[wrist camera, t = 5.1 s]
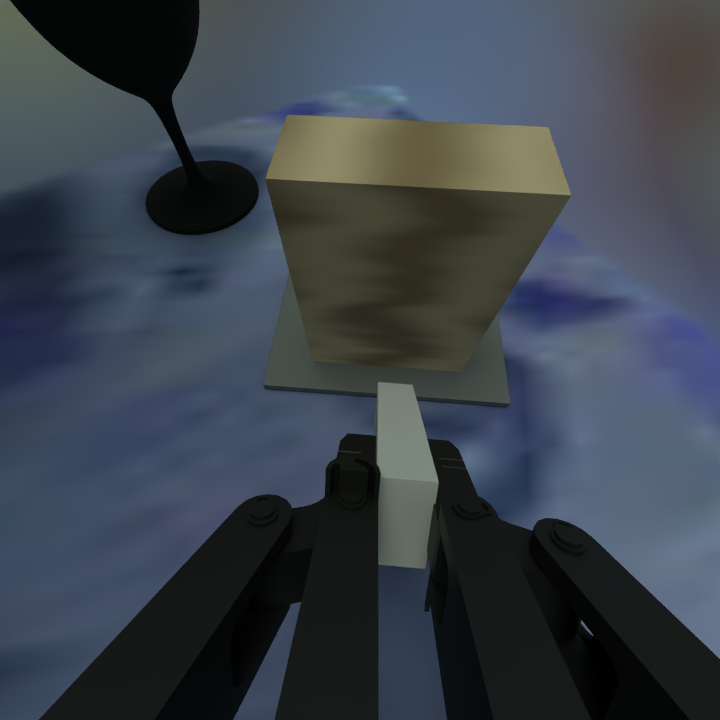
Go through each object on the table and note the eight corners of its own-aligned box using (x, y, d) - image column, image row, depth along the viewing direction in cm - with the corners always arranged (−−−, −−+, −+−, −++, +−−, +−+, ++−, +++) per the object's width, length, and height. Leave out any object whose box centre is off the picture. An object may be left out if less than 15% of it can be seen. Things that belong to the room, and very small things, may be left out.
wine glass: (250, 235, 29) (82, -231, 11) (131, 235, 29) (-221, -234, 11) (266, 164, 34) (166, -240, 16) (164, 163, 34) (-46, -242, 16)
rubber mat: (265, 388, 22) (262, 384, 22) (310, 195, 32) (309, 189, 31) (506, 406, 22) (510, 403, 21) (479, 205, 31) (481, 199, 30)
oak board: (312, 361, 22) (265, 178, 11) (320, 313, 24) (287, 114, 13) (461, 371, 22) (571, 195, 11) (457, 322, 24) (547, 127, 13)
